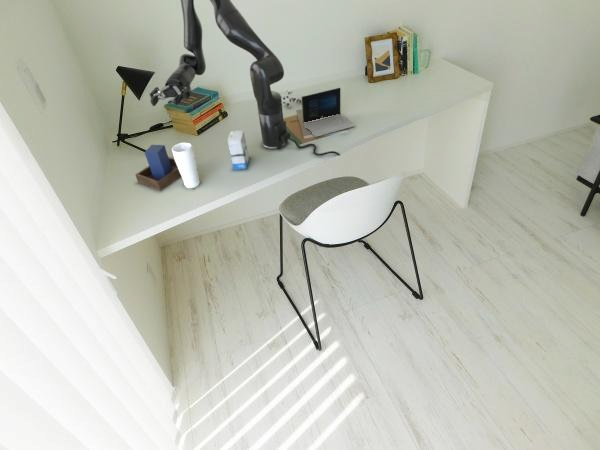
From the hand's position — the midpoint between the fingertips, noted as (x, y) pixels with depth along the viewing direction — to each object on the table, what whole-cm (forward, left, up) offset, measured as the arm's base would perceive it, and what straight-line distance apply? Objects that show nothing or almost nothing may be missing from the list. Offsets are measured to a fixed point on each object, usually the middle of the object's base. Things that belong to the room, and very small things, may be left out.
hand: (163, 103), depth 140 cm
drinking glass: (-16, +11, -24) cm, 30 cm away
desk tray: (-2, +11, -23) cm, 26 cm away
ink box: (-23, -8, -24) cm, 34 cm away
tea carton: (-2, +11, -23) cm, 25 cm away
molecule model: (-13, -61, -24) cm, 67 cm away
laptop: (-39, -48, -24) cm, 67 cm away
